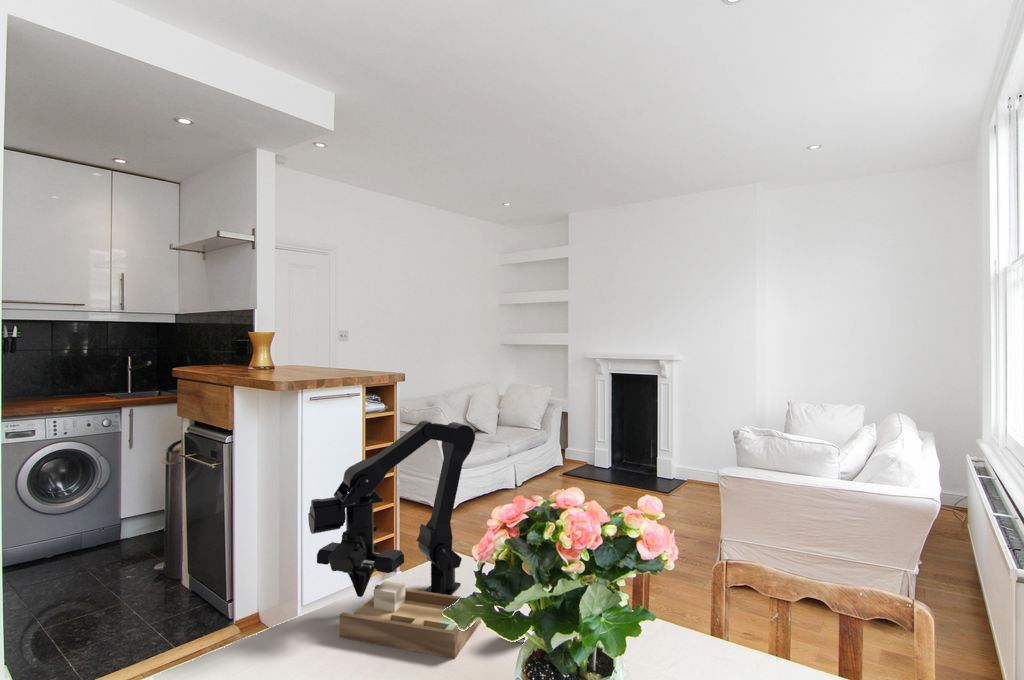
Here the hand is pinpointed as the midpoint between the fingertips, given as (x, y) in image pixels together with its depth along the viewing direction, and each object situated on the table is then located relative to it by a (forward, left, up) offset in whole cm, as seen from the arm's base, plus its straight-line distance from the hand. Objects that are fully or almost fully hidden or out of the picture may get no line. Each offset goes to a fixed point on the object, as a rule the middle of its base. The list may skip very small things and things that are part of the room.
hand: (360, 596), depth 118 cm
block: (0, +7, -1) cm, 7 cm away
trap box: (+3, +14, -4) cm, 14 cm away
